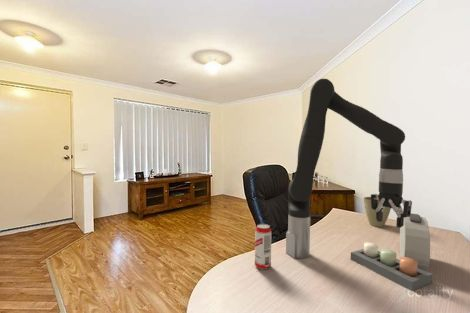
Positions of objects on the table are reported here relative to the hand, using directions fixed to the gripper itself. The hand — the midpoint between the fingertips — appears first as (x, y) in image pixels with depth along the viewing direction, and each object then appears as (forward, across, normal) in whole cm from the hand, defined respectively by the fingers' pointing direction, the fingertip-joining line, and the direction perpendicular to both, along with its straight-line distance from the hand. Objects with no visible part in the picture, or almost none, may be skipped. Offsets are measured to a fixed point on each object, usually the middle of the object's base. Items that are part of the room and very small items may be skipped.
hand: (389, 224), depth 87 cm
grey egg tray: (+18, 0, 0) cm, 18 cm away
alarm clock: (+18, 0, +16) cm, 24 cm away
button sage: (+15, 0, 0) cm, 15 cm away
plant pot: (+18, -36, +47) cm, 62 cm away
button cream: (+15, -7, 0) cm, 17 cm away
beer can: (+18, -21, -43) cm, 51 cm away
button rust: (+15, +7, 0) cm, 17 cm away
